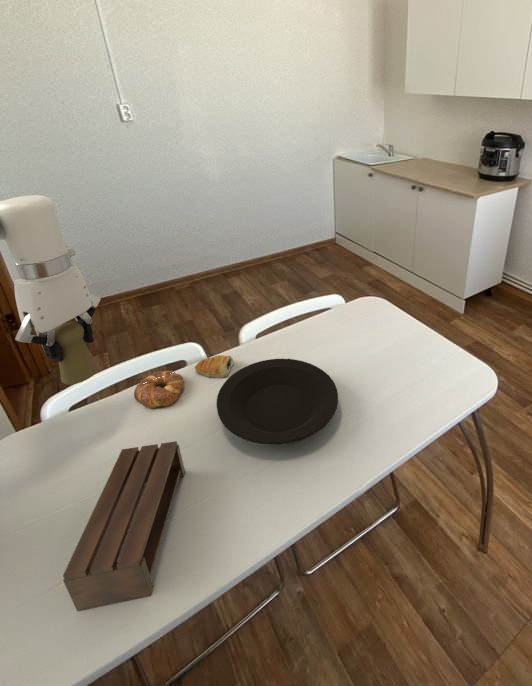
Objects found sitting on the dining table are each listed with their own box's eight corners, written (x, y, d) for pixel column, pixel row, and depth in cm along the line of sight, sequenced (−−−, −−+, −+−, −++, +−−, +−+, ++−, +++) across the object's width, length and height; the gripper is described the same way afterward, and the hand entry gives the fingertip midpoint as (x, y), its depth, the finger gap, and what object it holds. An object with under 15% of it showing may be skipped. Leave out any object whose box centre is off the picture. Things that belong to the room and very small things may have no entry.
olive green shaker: (66, 368, 78) (50, 321, 74) (101, 360, 80) (87, 315, 76) (57, 388, 72) (39, 339, 69) (94, 379, 75) (79, 331, 71)
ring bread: (193, 394, 94) (190, 382, 93) (145, 419, 87) (141, 407, 86) (175, 370, 102) (173, 359, 101) (130, 392, 95) (127, 380, 94)
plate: (194, 432, 83) (190, 412, 81) (263, 365, 104) (261, 348, 102) (302, 483, 72) (300, 462, 70) (356, 396, 92) (356, 378, 90)
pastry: (191, 379, 99) (189, 367, 98) (201, 362, 105) (199, 350, 104) (227, 378, 99) (225, 366, 98) (235, 361, 105) (233, 350, 104)
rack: (76, 611, 55) (60, 576, 52) (130, 480, 73) (120, 449, 71) (151, 595, 56) (139, 561, 54) (185, 471, 75) (178, 440, 72)
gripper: (76, 245, 77) (99, 323, 83) (-28, 284, 61) (9, 375, 68) (104, 249, 74) (125, 329, 81) (3, 290, 59) (38, 384, 65)
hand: (72, 349), depth 74 cm, fingers closed on olive green shaker, 5 cm apart
